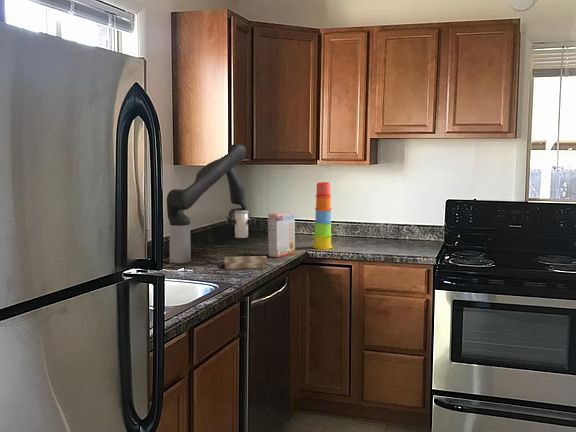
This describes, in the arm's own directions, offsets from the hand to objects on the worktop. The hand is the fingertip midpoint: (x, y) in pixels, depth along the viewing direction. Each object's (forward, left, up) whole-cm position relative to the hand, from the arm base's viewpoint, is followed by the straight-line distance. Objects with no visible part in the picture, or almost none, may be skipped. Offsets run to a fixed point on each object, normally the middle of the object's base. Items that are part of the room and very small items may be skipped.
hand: (241, 222), depth 281 cm
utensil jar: (0, +2, -7) cm, 7 cm away
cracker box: (+20, +18, -19) cm, 33 cm away
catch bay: (+1, -9, -18) cm, 21 cm away
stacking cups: (+44, +40, -19) cm, 63 cm away
